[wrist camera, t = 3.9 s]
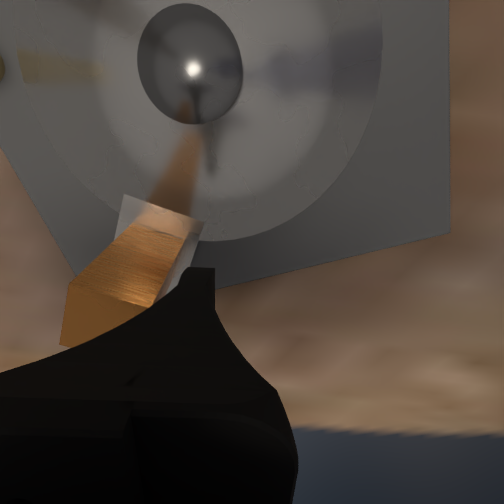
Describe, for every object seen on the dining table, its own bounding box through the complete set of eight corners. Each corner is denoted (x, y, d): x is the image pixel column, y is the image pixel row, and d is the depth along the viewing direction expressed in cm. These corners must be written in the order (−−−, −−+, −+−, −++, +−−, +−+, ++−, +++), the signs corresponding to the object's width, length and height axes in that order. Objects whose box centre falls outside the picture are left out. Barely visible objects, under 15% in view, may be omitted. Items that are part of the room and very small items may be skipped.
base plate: (417, -378, 8) (512, -655, 5) (434, 223, 14) (479, 250, 11) (-131, -132, 9) (-291, -233, 6) (110, 302, 16) (81, 343, 13)
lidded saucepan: (55, -259, 7) (-322, -973, 3) (439, -43, 9) (660, -222, 4) (18, 242, 13) (-126, 324, 8) (263, 319, 15) (269, 425, 10)
